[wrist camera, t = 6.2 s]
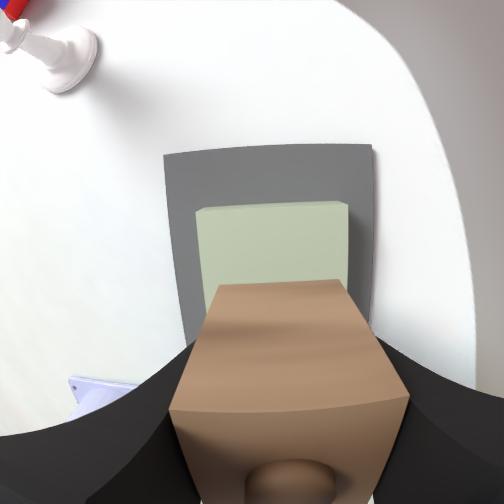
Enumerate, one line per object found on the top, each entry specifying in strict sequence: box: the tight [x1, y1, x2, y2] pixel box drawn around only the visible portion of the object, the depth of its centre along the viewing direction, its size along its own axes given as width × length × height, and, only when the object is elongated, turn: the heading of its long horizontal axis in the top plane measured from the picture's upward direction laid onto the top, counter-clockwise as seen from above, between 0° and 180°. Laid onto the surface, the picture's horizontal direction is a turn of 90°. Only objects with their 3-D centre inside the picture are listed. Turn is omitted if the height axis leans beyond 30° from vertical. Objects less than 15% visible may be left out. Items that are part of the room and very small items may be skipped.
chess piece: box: [0, 8, 97, 93], centre depth 9 cm, size 5×5×10 cm
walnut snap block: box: [169, 279, 410, 504], centre depth 8 cm, size 4×4×6 cm
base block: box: [196, 201, 348, 313], centre depth 16 cm, size 8×7×2 cm
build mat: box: [163, 144, 374, 347], centre depth 17 cm, size 14×11×1 cm
